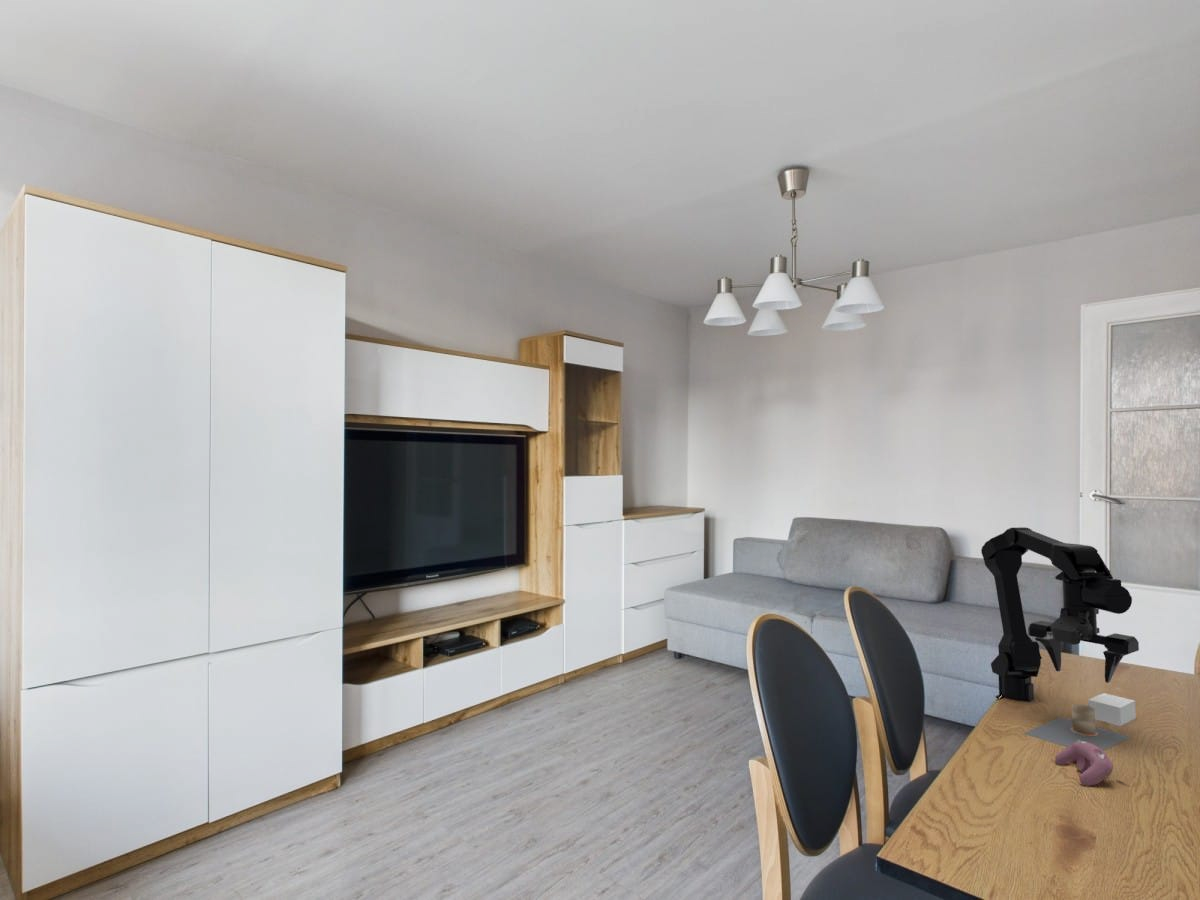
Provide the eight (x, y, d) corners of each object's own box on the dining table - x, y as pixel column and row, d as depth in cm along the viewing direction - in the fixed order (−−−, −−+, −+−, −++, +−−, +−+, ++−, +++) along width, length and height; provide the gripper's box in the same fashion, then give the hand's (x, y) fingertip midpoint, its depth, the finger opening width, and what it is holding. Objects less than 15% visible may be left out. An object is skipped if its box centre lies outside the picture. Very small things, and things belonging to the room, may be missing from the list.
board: (1023, 737, 138) (1023, 733, 138) (1061, 720, 147) (1061, 716, 147) (1094, 759, 127) (1094, 755, 127) (1131, 740, 136) (1130, 736, 136)
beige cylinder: (1069, 730, 140) (1068, 706, 140) (1077, 726, 142) (1076, 703, 142) (1090, 736, 136) (1089, 712, 136) (1099, 732, 138) (1098, 708, 138)
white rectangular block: (1089, 721, 147) (1088, 699, 147) (1104, 714, 151) (1103, 693, 151) (1121, 730, 142) (1120, 707, 142) (1135, 722, 146) (1135, 700, 146)
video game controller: (1105, 797, 116) (1123, 763, 116) (1079, 784, 116) (1097, 750, 116) (1074, 772, 126) (1091, 740, 125) (1051, 760, 126) (1067, 728, 126)
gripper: (1014, 601, 144) (1016, 671, 143) (1114, 616, 128) (1118, 696, 127) (1039, 595, 150) (1041, 663, 149) (1138, 609, 134) (1141, 685, 133)
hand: (1082, 676), depth 139 cm, fingers open, 9 cm apart
